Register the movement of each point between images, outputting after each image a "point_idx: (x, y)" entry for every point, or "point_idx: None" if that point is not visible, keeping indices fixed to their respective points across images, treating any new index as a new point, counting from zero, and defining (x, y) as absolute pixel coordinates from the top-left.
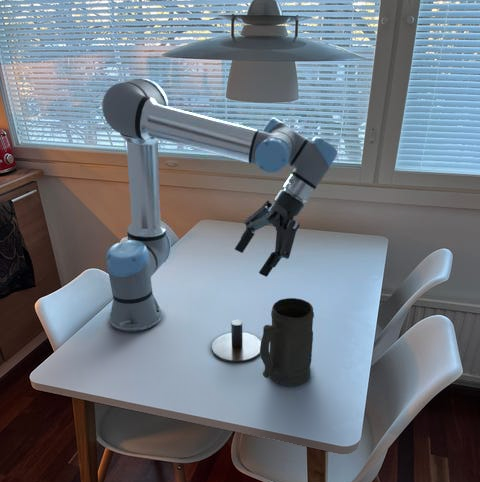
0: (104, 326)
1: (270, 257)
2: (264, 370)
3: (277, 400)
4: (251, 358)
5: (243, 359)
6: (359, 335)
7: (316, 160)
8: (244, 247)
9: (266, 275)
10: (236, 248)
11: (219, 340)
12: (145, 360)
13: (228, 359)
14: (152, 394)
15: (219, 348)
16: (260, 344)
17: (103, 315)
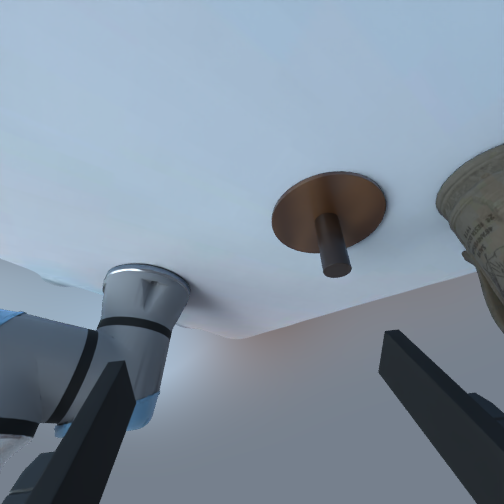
0: None
1: (478, 484)
2: (470, 262)
3: None
4: (382, 218)
5: (371, 231)
6: None
7: None
8: (111, 400)
9: (401, 339)
10: (130, 412)
11: (286, 235)
12: (261, 299)
13: (348, 246)
14: (325, 307)
15: (308, 244)
16: (365, 183)
17: None
